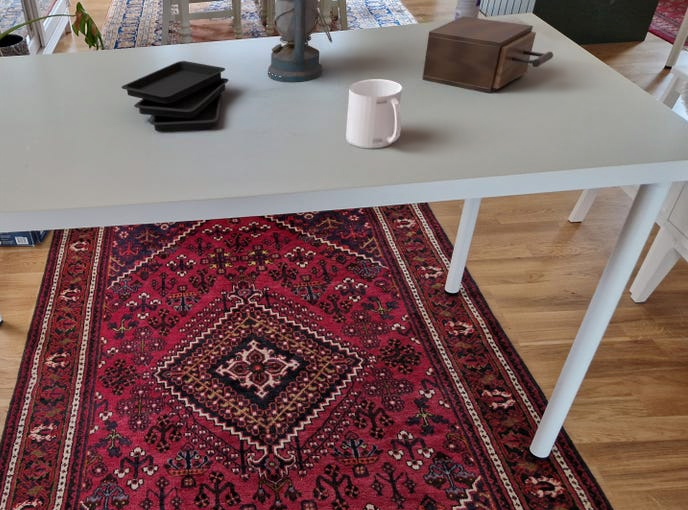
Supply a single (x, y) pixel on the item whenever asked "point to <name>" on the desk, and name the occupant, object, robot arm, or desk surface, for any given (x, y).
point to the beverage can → (467, 8)
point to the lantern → (296, 41)
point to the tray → (180, 96)
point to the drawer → (517, 59)
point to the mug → (374, 113)
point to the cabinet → (468, 52)
